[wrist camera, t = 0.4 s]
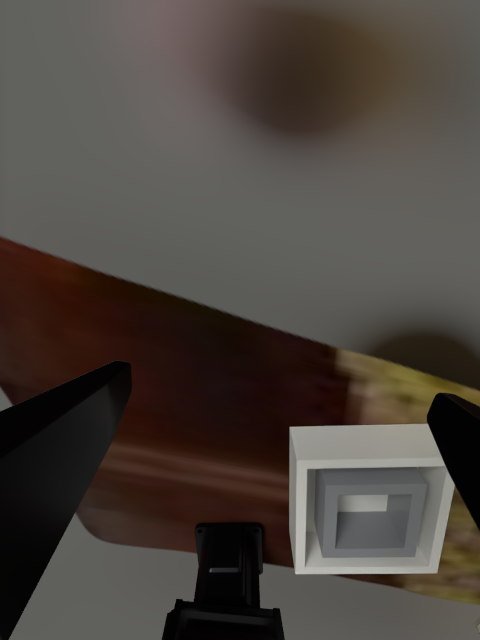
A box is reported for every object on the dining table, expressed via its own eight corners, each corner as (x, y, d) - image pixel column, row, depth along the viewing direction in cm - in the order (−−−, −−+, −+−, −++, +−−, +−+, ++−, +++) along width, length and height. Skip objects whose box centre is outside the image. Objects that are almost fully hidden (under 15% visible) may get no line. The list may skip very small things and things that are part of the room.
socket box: (412, 528, 30) (438, 575, 26) (289, 530, 30) (295, 576, 26) (429, 423, 26) (462, 459, 22) (289, 426, 27) (297, 462, 23)
